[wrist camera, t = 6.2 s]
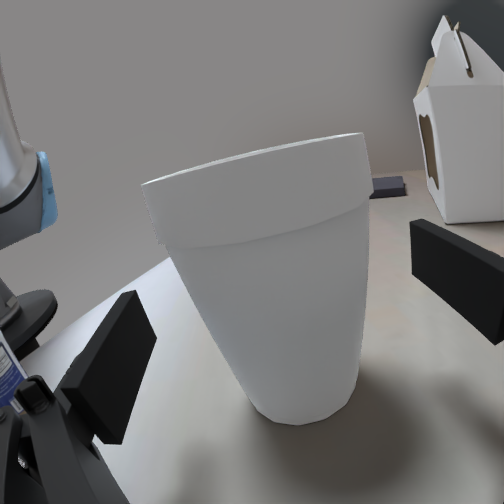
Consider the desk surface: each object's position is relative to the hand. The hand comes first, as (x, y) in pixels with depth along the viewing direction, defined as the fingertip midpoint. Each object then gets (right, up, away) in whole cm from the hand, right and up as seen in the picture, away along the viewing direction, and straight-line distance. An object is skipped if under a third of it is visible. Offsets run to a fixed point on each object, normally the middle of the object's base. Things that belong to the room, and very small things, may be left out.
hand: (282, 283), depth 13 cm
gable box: (+34, +9, +25) cm, 43 cm away
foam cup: (+2, -7, +3) cm, 8 cm away
